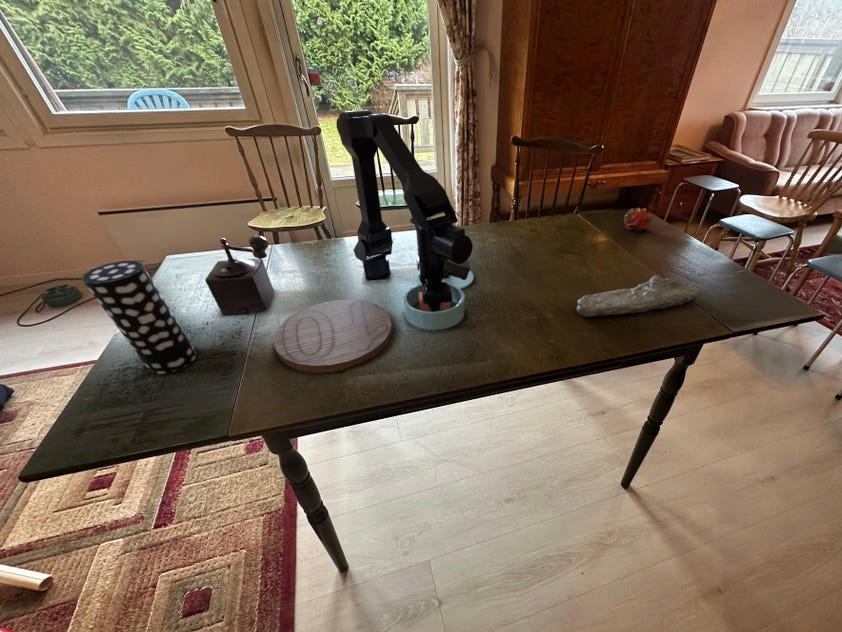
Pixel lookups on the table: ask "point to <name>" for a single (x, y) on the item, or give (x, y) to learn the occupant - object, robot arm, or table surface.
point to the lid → (459, 280)
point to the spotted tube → (141, 315)
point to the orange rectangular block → (426, 307)
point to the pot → (434, 318)
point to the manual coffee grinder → (241, 280)
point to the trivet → (332, 335)
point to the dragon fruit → (637, 219)
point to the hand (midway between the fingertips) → (435, 308)
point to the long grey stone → (638, 298)
